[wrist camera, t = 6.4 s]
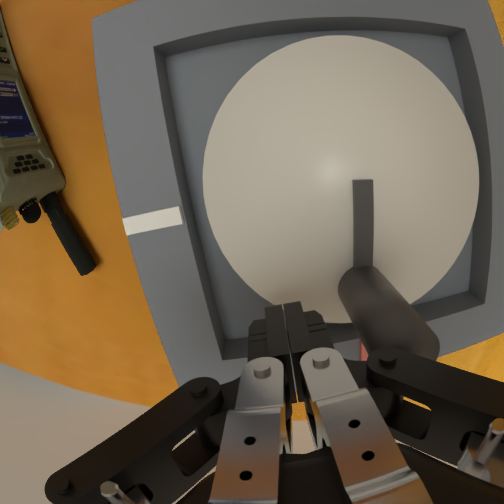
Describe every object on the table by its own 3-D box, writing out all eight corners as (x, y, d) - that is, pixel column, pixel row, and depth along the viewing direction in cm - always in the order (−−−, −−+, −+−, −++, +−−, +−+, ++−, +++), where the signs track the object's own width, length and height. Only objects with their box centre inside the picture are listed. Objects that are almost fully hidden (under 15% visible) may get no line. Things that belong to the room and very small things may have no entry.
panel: (454, 12, 13) (488, -7, 9) (479, 306, 20) (510, 333, 15) (121, 39, 15) (88, 16, 10) (195, 363, 21) (184, 406, 17)
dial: (196, 54, 13) (147, -17, 6) (451, 60, 12) (543, 32, 5) (225, 318, 17) (208, 422, 10) (452, 292, 17) (525, 359, 9)
